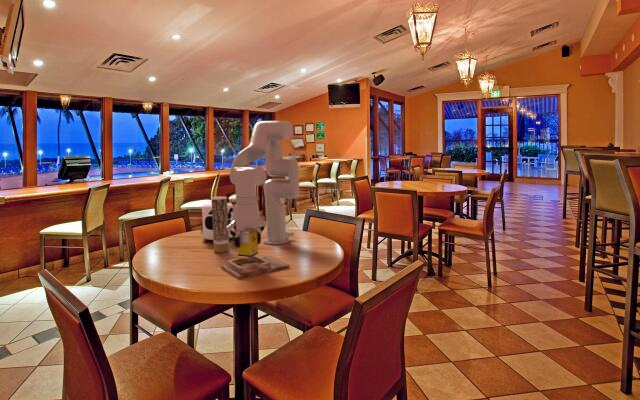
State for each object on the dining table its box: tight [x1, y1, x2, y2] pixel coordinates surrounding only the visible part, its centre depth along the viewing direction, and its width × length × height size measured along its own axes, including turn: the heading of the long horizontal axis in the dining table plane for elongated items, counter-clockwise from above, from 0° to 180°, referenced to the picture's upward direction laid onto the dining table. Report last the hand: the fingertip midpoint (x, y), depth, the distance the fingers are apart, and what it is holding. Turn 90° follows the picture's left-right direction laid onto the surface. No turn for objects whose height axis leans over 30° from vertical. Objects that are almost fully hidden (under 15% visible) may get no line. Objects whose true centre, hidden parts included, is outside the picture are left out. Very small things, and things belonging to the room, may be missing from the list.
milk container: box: [200, 202, 235, 242], centre depth 204 cm, size 17×17×18 cm
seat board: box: [220, 254, 290, 280], centre depth 157 cm, size 22×16×3 cm
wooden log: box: [211, 196, 230, 254], centre depth 181 cm, size 7×7×25 cm
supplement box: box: [237, 228, 259, 257], centre depth 154 cm, size 6×6×11 cm
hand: (247, 244), depth 154 cm, fingers closed on supplement box, 8 cm apart
